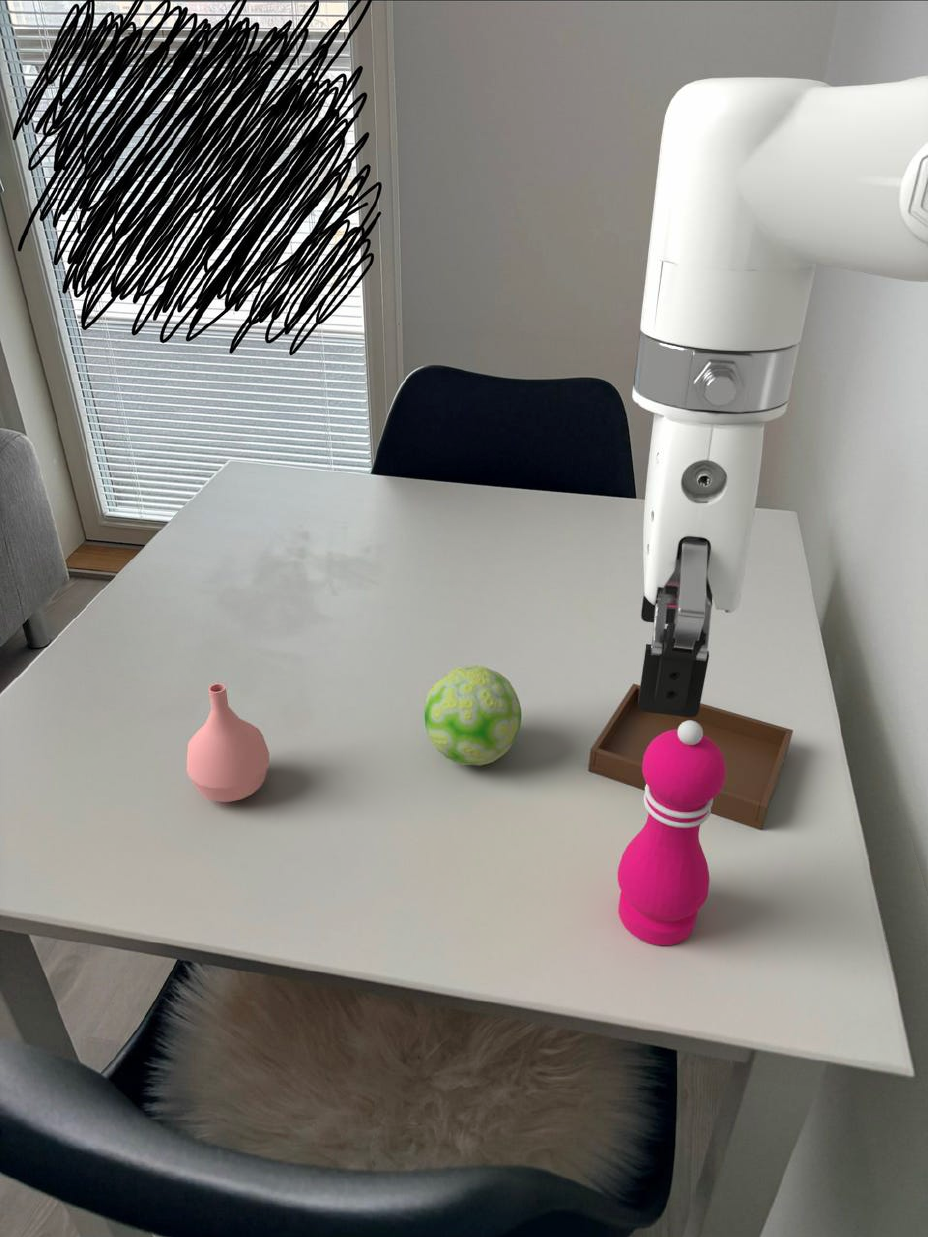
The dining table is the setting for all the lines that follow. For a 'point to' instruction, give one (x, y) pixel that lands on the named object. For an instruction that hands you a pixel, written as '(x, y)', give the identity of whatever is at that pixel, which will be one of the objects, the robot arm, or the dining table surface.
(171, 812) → the dining table surface
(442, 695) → the decorative ball
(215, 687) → the pink bulb vase
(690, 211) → the robot arm
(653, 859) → the pepper mill
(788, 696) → the dining table surface
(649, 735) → the tray
